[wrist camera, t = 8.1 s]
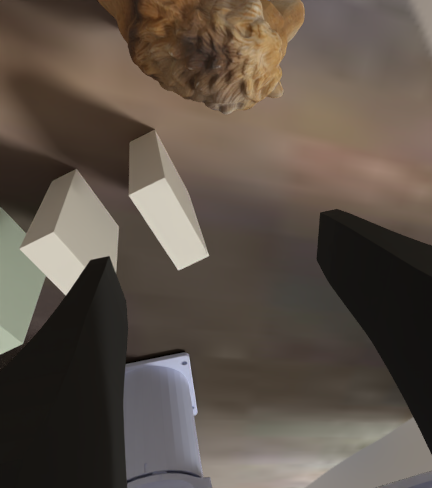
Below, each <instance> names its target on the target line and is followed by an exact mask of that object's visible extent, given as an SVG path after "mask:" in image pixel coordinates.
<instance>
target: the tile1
mask: <svg viewBox="0 0 432 488" xmlns="http://www.w3.org/2000/svg"><path fill="white" fill-rule="evenodd" d="M129 196H130V198H131V199H132V201H133V202H134V204H135V205H136V207H137V208H138V210H139V211H140V213H141V214H142V216H143V218H144V219H145V221H146V222H147V224H148V225H149V227H150V228H151V230H152V231H153V233H154V234H155V236H156V237H157V239H158V240H159V242H160V243H161V245H162V246H163V248H164V249H165V251H166V252H167V254H168V255H169V257H170V258H171V260H172V262H173V263H174V265H175V266H176V268H177V269H178V270H181V269H183V268H185V267H187V266H189V265H191V264H193V263H195V262H197V261H200V260H202V259H204V258H206V257H208V256H209V254H208V251H207V248H206V245H205V242H204V239H203V236H202V233H201V230H200V227H199V223H198V220H197V217H196V214H195V211H194V208H193V205H192V202H191V199H190V196H189V193H188V191H187V189H186V187H185V185H184V183H183V182H182V180H181V178H180V176H179V174H178V172H177V170H176V168H175V166H174V165H173V163H172V161H171V159H170V157H169V155H168V153H167V151H166V149H165V148H164V146H163V144H162V142H161V140H160V138H159V136H158V134H157V133H156V131H155V130H153V131H151V132H149V133H147V134H145V135H143V136H141V137H139V138H137V139H135V140H133V141H131V142H130V143H129Z"/></svg>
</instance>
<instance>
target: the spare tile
mask: <svg viewBox="0 0 432 488" xmlns="http://www.w3.org/2000/svg"><path fill="white" fill-rule="evenodd" d="M25 236H26V233H25V232H24V231H23V230H22V229H21V228H20V227H19V226H18V225H17V224H16V222H15V221H14V220H13V219H12V218H11V217H10V216H9V215H8V214H7V213H6V212H5V211H4V210H3V209H2V208H1V207H0V354H2V353H5V352H7V351H9V350H11V349H13V348H15V347H17V346H19V345H22V344H23V343H24V340H25V337H26V334H27V331H28V328H29V325H30V322H31V319H32V316H33V313H34V310H35V307H36V303H37V300H38V297H39V294H40V291H41V288H42V285H43V282H44V279H45V276H46V275H45V274H44V273H43V272H42V271H41V270H40V269H39V268H38V267H37V266H36V265H35V264H34V263H33V262H32V261H31V260H30V259H29V258H28V257H27V256H26V255H25V254H24V253H23V252H22V251H21V250H20V249H19V248H20V246H21V244H22V242H23V240H24V238H25Z"/></svg>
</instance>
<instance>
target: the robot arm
mask: <svg viewBox="0 0 432 488" xmlns="http://www.w3.org/2000/svg"><path fill="white" fill-rule="evenodd" d="M317 261H318V263H319V265H320V267H321V269H322V271H323V273H324V275H325V277H326V278H327V280H328V282H329V283H330V285H331V286H332V288H333V289H334V290H335V292H336V293H337V295H338V296H339V297H340V299H341V300H342V301H343V303H344V304H345V305H346V307H347V308H348V309H349V311H350V312H351V313H352V315H353V316H354V317H355V319H356V320H357V322H358V323H359V324H360V326H361V327H362V328H363V330H364V331H365V332H366V334H367V335H368V337H369V338H370V340H371V341H372V343H373V344H374V346H375V348H376V349H377V351H378V353H379V355H380V356H381V358H382V360H383V361H384V363H385V365H386V366H387V368H388V370H389V372H390V374H391V375H392V377H393V379H394V381H395V383H396V384H397V386H398V388H399V390H400V392H401V394H402V395H403V397H404V399H405V401H406V403H407V405H408V407H409V409H410V411H411V413H412V415H413V417H414V419H415V421H416V423H417V425H418V427H419V429H420V431H421V433H422V435H423V437H424V439H425V441H426V444H427V446H428V448H429V450H430V452H431V454H432V246H431V245H428V244H425V243H423V242H420V241H417V240H414V239H411V238H409V237H406V236H403V235H401V234H398V233H396V232H393V231H391V230H388V229H386V228H383V227H381V226H378V225H376V224H374V223H371V222H369V221H367V220H364V219H362V218H359V217H357V216H354V215H352V214H349V213H347V212H344V211H341V210H338V209H335V210H330V211H326V212H321V213H320V223H319V236H318V249H317ZM127 335H128V322H127V307H126V300H125V297H124V294H123V292H122V289H121V286H120V283H119V281H118V278H117V275H116V272H115V270H114V267H113V264H112V261H111V259H110V256H107V257H102V258H97V259H92V260H90V261H89V263H88V264H87V266H86V267H85V268H84V270H83V271H82V273H81V274H80V276H79V277H78V279H77V280H76V282H75V283H74V285H73V286H72V288H71V289H70V291H69V292H68V293H67V295H66V296H65V298H64V299H63V301H62V302H61V303H60V305H59V306H58V307H57V309H56V310H55V311H54V313H53V314H52V315H51V316H50V318H49V319H48V320H47V321H46V323H45V324H44V325H43V327H42V328H41V329H40V330H39V331H38V333H37V334H36V335H35V336H34V337H33V338H32V339H31V341H30V342H29V343H28V344H27V345H26V346H25V347H24V348H23V349H22V350H21V351H20V352H19V353H18V354H17V355H16V356H15V357H14V358H13V360H12V361H11V362H9V363H8V364H7V365H6V366H5V367H4V368H3V369H2V370H1V371H0V488H212V485H211V479H210V477H206V478H203V472H202V465H201V459H200V452H199V446H198V440H197V433H196V427H195V420H194V415H196V414H197V406H196V399H195V392H194V386H193V379H192V372H191V366H190V359H189V355H188V353H185V352H184V353H178V354H173V355H168V356H163V357H158V358H153V359H148V360H143V361H139V362H134V363H129V364H126V351H127ZM376 488H432V471H429V472H426V473H423V474H419V475H416V476H412V477H409V478H406V479H402V480H399V481H396V482H392V483H389V484H386V485H382V486H379V487H376Z"/></svg>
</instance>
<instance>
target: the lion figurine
mask: <svg viewBox="0 0 432 488" xmlns="http://www.w3.org/2000/svg"><path fill="white" fill-rule="evenodd" d="M97 1H98V2H99V3H100V4H101V5H102V6H103V7H104V8H105V9H106V10H107V11H108V12H109V13H110V14H111V15H112V16H113V17H114V18H115V19H116V20H117V23H118V27H119V30H120V32H121V34H122V36H123V38H124V39H125V41H126V42H127V43H128V48H129V53H130V56H131V58H132V60H133V62H134V63H135V64H136V65H138V67H139V68H140V69H141V70H142V72H143V73H145V74H146V75H148V76H150V77H152V78H153V79H155V80H157V81H158V82H159V83H160V85H161V87H162V88H164V89H166V90H168V91H173V92H175V93H177V94H178V95H180V96H182V97H183V98H184V99H191V100H192V101H197V102H204V103H205V105H206V106H207V107H209V108H211V109H213V110H219V111H220V112H222V113H223V114H229V113H231V112H233V111H234V110H247V109H250V108H252V107H254V106H255V104H256V103H257V102H259V101H261V100H262V99H264V98H265V97H271V98H278V97H281V96H282V95H283V92H284V91H283V88H282V85H281V83H280V79H281V77H282V70H281V68H280V66H279V63H280V62H281V60H282V59H283V57H284V55H285V53H286V47H287V42H289V41H290V40H291V39H292V38H293V37H294V36H295V34H296V33H297V31H298V30H299V28H300V27H301V25H302V24H303V21H304V16H305V11H304V5H303V3H302V2H301V1H300V0H270V1H267V0H97Z"/></svg>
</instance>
